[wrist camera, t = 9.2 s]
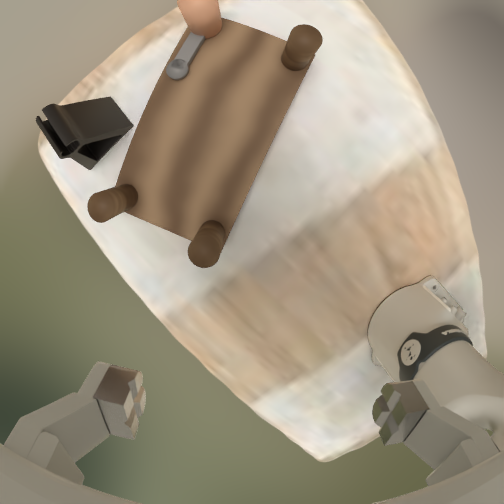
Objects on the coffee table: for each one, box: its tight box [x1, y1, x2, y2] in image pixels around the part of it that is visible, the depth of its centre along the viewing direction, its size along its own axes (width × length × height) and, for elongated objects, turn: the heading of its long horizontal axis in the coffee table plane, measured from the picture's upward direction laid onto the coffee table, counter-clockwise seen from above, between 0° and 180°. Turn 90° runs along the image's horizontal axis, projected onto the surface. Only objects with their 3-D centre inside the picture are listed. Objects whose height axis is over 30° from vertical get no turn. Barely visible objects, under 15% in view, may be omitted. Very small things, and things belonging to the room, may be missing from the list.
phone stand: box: [36, 97, 133, 170], centre depth 28 cm, size 9×6×12 cm, turn 127°
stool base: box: [88, 18, 322, 268], centre depth 29 cm, size 16×28×10 cm, turn 155°
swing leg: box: [166, 0, 222, 80], centre depth 24 cm, size 10×4×8 cm, turn 154°
